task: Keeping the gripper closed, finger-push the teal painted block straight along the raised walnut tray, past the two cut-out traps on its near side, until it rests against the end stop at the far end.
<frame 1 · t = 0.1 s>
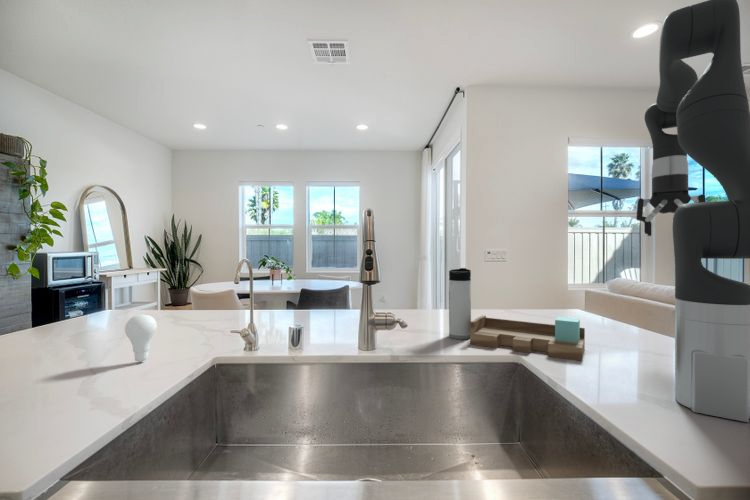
hand: (669, 235, 94), 29 cm above the worktop, fingers open, 8 cm apart
travel mug: (460, 337, 102), on the worktop
teal block: (567, 339, 87), point 3 cm above the worktop, touching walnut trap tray
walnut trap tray: (525, 346, 91), on the worktop
lightbulb: (141, 363, 80), on the worktop
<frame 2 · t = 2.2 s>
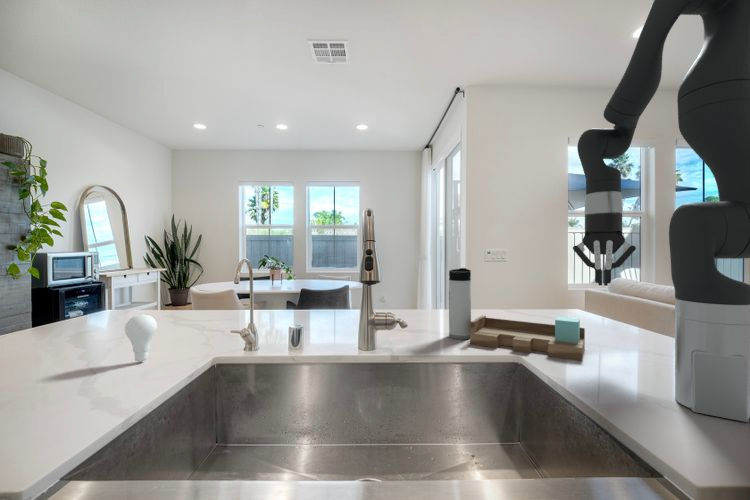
hand: (603, 285, 83), 17 cm above the worktop, fingers closed
nothing on the worktop moved.
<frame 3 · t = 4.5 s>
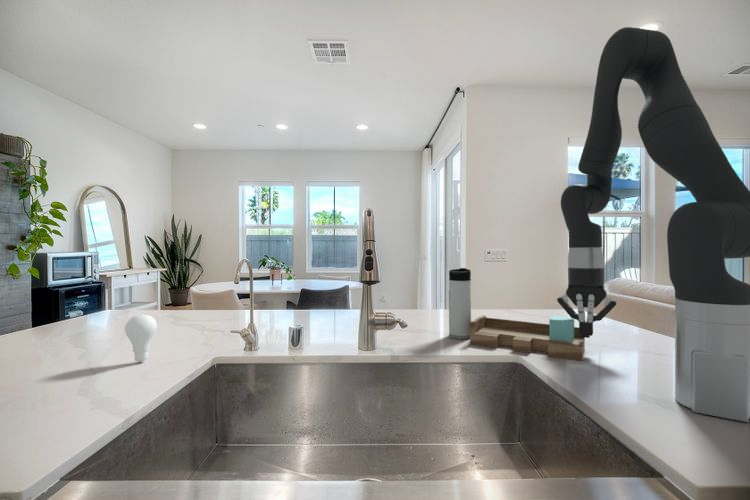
hand: (586, 336, 85), 4 cm above the worktop, fingers closed
teal block: (562, 338, 88), point 3 cm above the worktop, touching gripper
everything else where it was.
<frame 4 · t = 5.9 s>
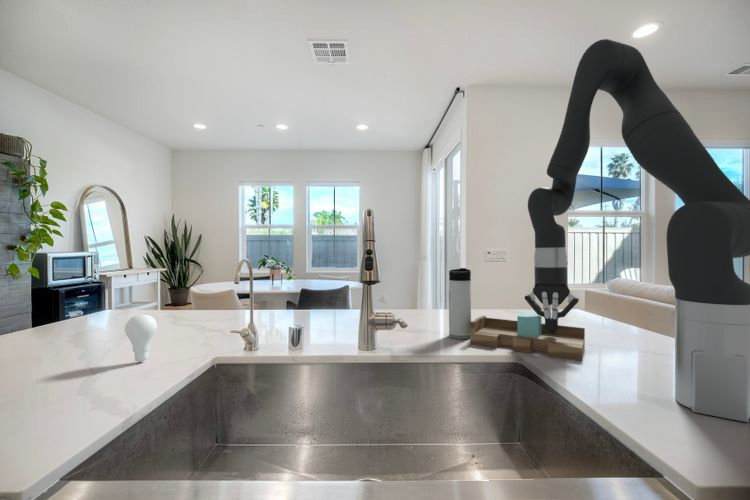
hand: (551, 332, 89), 4 cm above the worktop, fingers closed
teal block: (529, 334, 92), point 3 cm above the worktop, touching gripper, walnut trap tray
everything else where it was.
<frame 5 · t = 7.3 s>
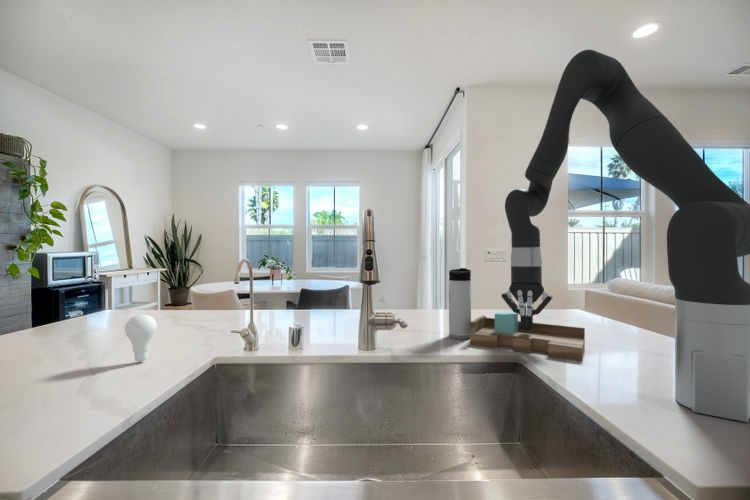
hand: (526, 329, 93), 4 cm above the worktop, fingers closed
teal block: (506, 331, 96), point 3 cm above the worktop, touching gripper
everything else where it was.
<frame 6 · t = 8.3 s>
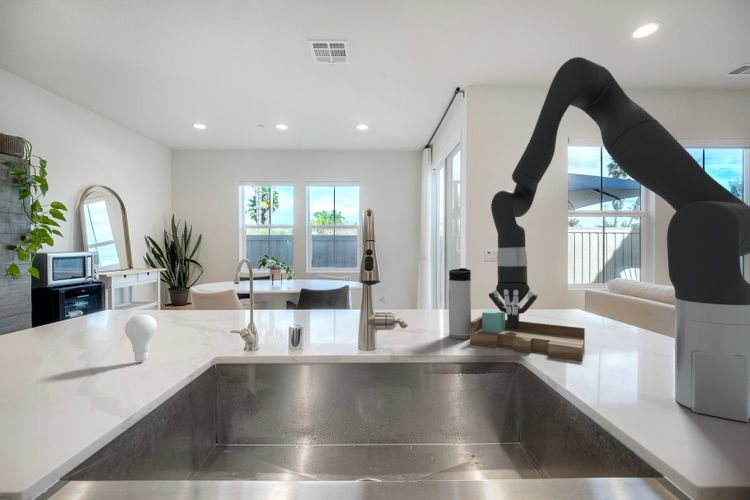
hand: (513, 327, 95), 4 cm above the worktop, fingers closed
teal block: (493, 329, 97), point 3 cm above the worktop, touching gripper, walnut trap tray
everything else where it was.
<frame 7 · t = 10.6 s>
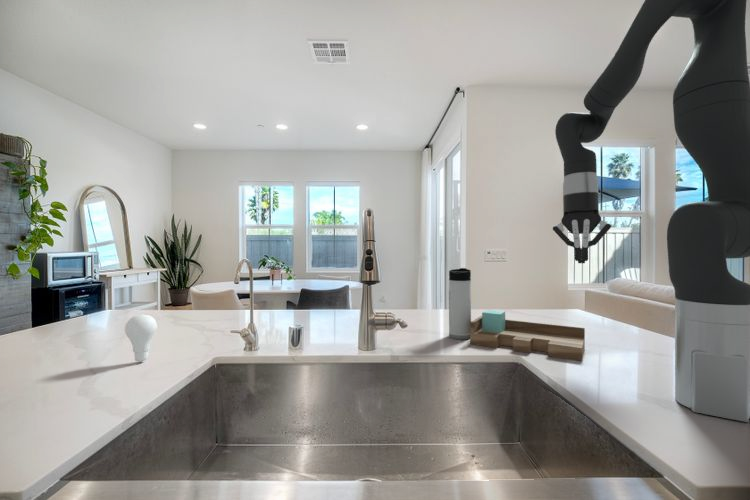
hand: (581, 263, 86), 22 cm above the worktop, fingers closed
teal block: (493, 329, 97), point 3 cm above the worktop, touching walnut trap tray
everything else where it was.
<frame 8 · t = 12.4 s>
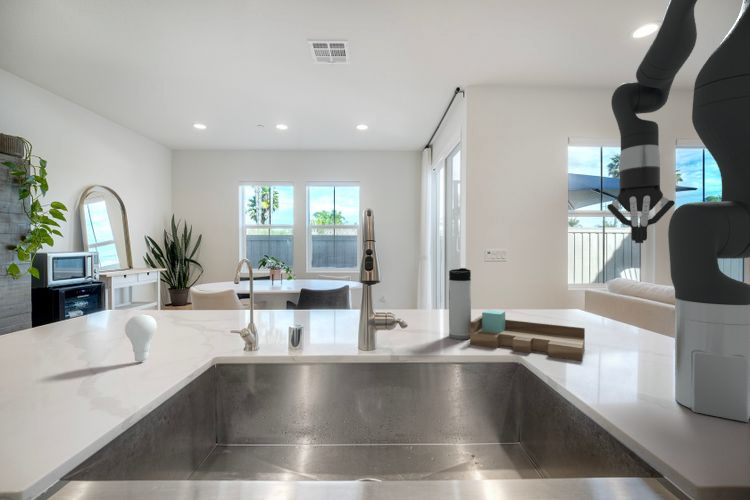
hand: (639, 243, 81), 27 cm above the worktop, fingers closed
nothing on the worktop moved.
at the end: teal block inside the target area (0.7 cm from its centre), point 3.0 cm above the worktop; teal block tilted 0° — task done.
